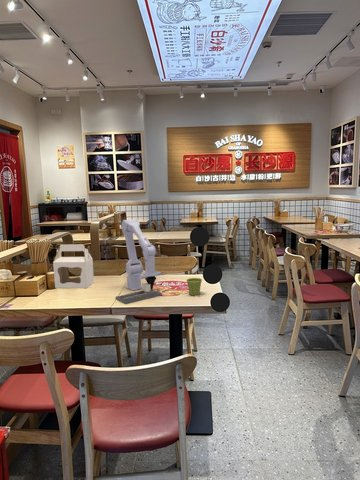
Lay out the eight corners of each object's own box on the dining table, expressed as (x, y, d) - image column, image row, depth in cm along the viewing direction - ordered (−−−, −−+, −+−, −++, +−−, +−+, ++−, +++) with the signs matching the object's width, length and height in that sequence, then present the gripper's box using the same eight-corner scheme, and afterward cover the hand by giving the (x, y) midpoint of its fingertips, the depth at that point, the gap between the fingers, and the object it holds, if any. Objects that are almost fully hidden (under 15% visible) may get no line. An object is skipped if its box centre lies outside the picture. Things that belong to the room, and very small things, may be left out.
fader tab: (142, 292, 201) (142, 283, 200) (146, 291, 203) (146, 282, 202) (146, 293, 197) (146, 285, 197) (150, 292, 199) (150, 284, 198)
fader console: (115, 299, 195) (115, 295, 194) (150, 291, 209) (150, 287, 209) (125, 304, 185) (125, 299, 185) (161, 295, 199) (161, 291, 199)
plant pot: (188, 297, 195) (188, 282, 194) (185, 292, 204) (184, 278, 203) (204, 295, 197) (203, 281, 195) (200, 291, 206) (199, 277, 205)
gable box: (94, 282, 232) (91, 242, 228) (87, 288, 219) (84, 245, 215) (63, 282, 234) (60, 243, 230) (54, 288, 221) (51, 246, 217)
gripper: (143, 269, 192) (144, 292, 194) (164, 265, 201) (164, 287, 203) (136, 267, 198) (137, 290, 200) (157, 264, 206) (158, 285, 208)
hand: (150, 288), depth 202 cm, fingers closed
